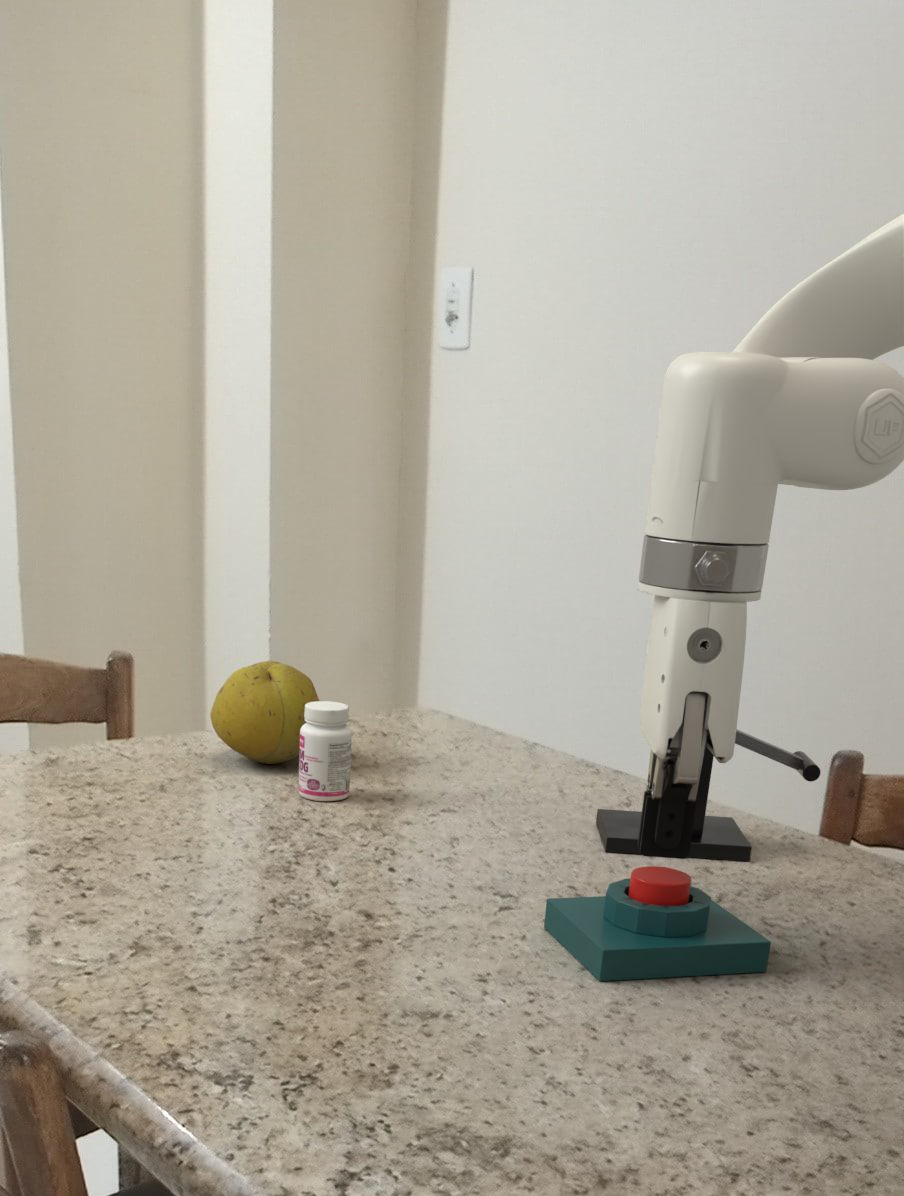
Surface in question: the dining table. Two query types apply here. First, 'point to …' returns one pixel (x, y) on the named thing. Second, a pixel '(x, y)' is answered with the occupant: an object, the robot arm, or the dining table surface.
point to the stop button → (660, 886)
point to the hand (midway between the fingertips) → (662, 853)
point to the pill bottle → (325, 752)
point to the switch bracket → (708, 832)
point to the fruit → (263, 711)
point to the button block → (654, 936)
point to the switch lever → (780, 755)
